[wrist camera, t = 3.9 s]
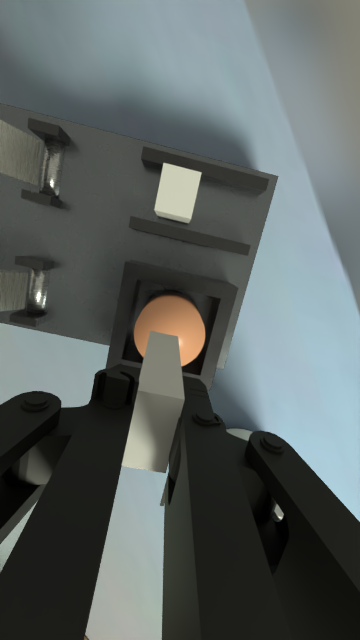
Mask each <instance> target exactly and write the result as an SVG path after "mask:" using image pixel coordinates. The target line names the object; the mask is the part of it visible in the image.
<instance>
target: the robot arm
mask: <svg viewBox="0 0 360 640" xmlns="http://www.w3.org/2000/svg"><path fill="white" fill-rule="evenodd" d="M168 462H169V472H168V476H167V480H166V484H165V488H164V492H163V496H162V499H161V503H160V506H164V503H165V515H164V563H163V612H162V640H360V522H359V521H358V520H357V519H356V517H355V516H354V515H353V514H352V513H351V512H350V511H349V510H348V509H347V508H346V506H345V505H344V504H343V503H342V502H341V501H340V500H339V499H338V498H337V497H336V495H335V494H334V493H333V492H332V491H331V490H330V489H329V488H328V487H327V485H326V484H325V483H324V482H323V481H322V480H321V479H320V478H319V477H318V476H317V474H316V473H315V472H314V471H313V470H312V469H311V468H310V467H309V466H308V464H307V463H306V462H305V461H304V460H303V459H302V458H301V457H300V456H299V455H298V453H297V452H296V451H295V450H294V449H293V448H292V447H291V446H290V445H289V444H288V443H287V442H286V441H285V440H283V439H282V438H280V437H278V436H277V435H275V434H273V433H270V432H264V431H255V432H253V433H252V434H250V437H249V440H248V441H247V440H244V439H242V438H239V437H237V436H234V435H232V434H230V433H228V432H227V431H226V427H225V424H224V422H223V420H222V419H221V418H220V417H219V416H218V415H217V414H215V413H213V411H212V407H211V403H210V399H209V396H208V393H207V388H206V385H205V384H204V383H203V382H202V381H201V380H200V379H197V378H192V377H187V376H182V369H181V359H180V349H179V340H178V336H174V335H169V334H164V333H159V332H155V331H150V334H149V338H148V343H147V347H146V351H145V355H144V360H143V364H142V368H137V367H132V366H127V365H122V364H117V365H116V366H114V367H112V368H111V369H103V370H100V371H98V372H97V373H96V374H95V378H94V384H93V389H92V395H91V400H90V401H89V403H88V405H85V406H81V407H69V408H61V400H60V399H59V398H58V397H57V396H55V395H53V394H51V393H47V392H43V391H39V392H37V391H32V392H27V393H22V394H20V395H17V396H15V397H13V398H11V399H10V400H8V401H6V402H4V403H3V404H1V405H0V544H1V543H2V542H3V540H4V539H5V538H6V537H7V536H8V535H9V533H10V532H11V531H12V530H13V529H14V528H15V526H16V525H17V524H18V523H19V522H20V520H21V519H22V518H23V517H24V516H25V515H26V513H27V512H28V511H29V510H30V509H31V508H32V506H33V505H34V504H35V503H36V502H37V501H38V502H37V504H36V505H35V507H34V509H33V511H32V513H31V515H30V517H29V519H28V521H27V523H26V525H25V527H24V529H23V531H22V532H21V534H20V536H19V538H18V540H17V542H16V544H15V546H14V548H13V550H12V552H11V554H10V556H9V557H8V559H7V561H6V563H5V565H4V567H3V569H2V571H1V573H0V640H84V637H85V633H86V628H87V623H88V619H89V614H90V609H91V605H92V600H93V596H94V591H95V586H96V582H97V577H98V573H99V568H100V563H101V559H102V554H103V549H104V545H105V540H106V536H107V531H108V526H109V522H110V517H111V512H112V508H113V503H114V499H115V494H116V489H117V485H118V480H119V475H120V471H121V466H126V467H132V468H138V469H144V470H150V471H156V472H162V473H166V470H167V466H168ZM38 499H39V500H38ZM277 504H278V506H279V507H280V509H281V511H282V512H283V514H284V515H283V518H282V520H280V519H279V517H278V516H277V514H276V513H275V508H276V505H277Z"/></svg>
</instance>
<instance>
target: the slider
mask: <svg viewBox="0 0 360 640" xmlns="http://www.w3.org/2000/svg"><path fill="white" fill-rule="evenodd" d="M201 173H202V172H198V171H194V170H190V169H186V168H182V167H179V166H175V165H171V164H167V163H163V168H162V173H161V178H160V183H159V189H158V194H157V199H156V204H155V209H154V211H155V212H156V214H157V216H158V217H160V218H164V219H168V220H172V221H176V222H180V223H184V224H189V222H190V220H191V217H192V213H193V208H194V204H195V200H196V195H197V191H198V186H199V182H200V178H201Z"/></svg>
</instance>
